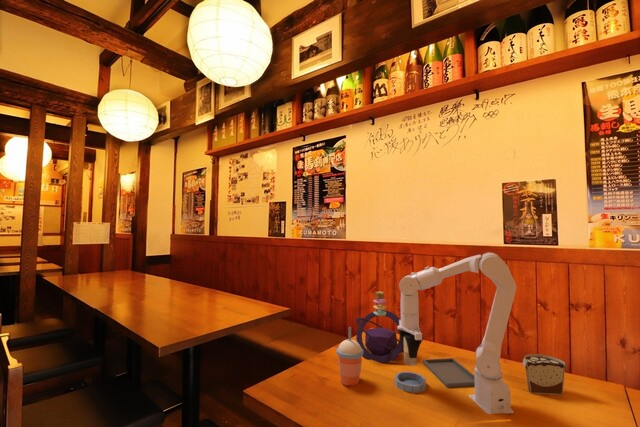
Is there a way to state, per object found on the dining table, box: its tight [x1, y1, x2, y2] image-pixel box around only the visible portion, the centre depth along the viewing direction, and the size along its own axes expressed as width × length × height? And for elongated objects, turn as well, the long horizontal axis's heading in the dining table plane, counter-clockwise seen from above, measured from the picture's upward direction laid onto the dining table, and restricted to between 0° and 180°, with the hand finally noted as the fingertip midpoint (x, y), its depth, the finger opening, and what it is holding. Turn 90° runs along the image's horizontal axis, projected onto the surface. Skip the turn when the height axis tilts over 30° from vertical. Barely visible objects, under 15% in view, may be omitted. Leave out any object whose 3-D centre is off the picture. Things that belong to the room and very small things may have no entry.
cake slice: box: [522, 353, 568, 396], centre depth 101 cm, size 12×6×10 cm, turn 84°
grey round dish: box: [394, 371, 427, 394], centre depth 102 cm, size 10×10×2 cm
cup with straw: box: [335, 326, 364, 387], centre depth 106 cm, size 9×9×18 cm
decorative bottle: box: [355, 291, 404, 364], centre depth 129 cm, size 22×21×25 cm
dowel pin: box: [403, 337, 418, 367], centre depth 103 cm, size 4×4×8 cm
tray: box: [422, 357, 475, 389], centre depth 110 cm, size 18×12×2 cm, turn 6°
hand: (410, 354), depth 103 cm, fingers closed on dowel pin, 4 cm apart
